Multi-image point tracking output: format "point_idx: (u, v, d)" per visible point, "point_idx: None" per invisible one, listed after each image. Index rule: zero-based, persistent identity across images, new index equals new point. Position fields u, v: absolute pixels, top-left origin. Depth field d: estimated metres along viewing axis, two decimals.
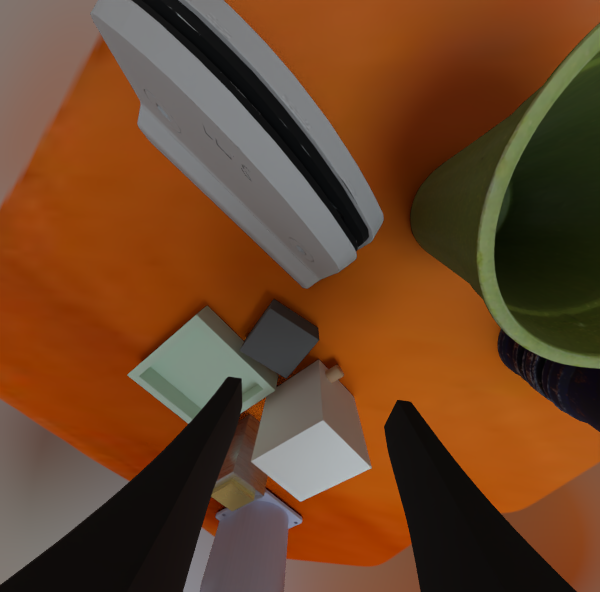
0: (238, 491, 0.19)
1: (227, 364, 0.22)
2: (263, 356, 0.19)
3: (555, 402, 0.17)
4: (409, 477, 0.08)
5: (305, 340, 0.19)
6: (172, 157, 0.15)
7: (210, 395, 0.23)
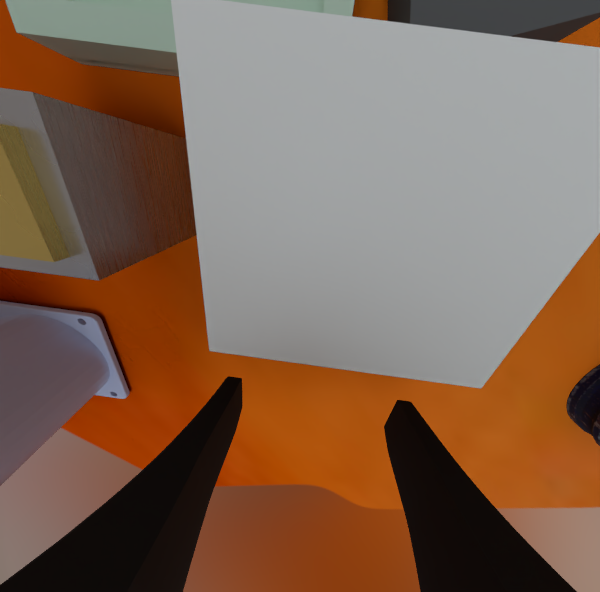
0: (8, 187, 0.05)
1: None
2: None
3: None
4: (408, 477, 0.08)
5: None
6: None
7: None
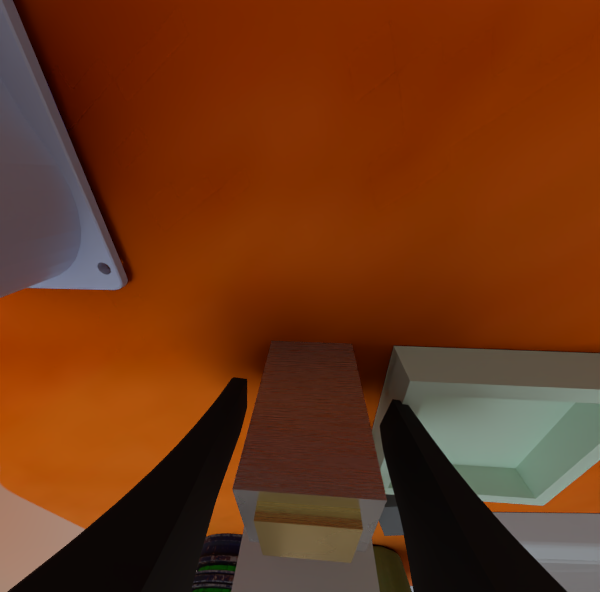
0: (315, 556, 0.07)
1: (447, 446, 0.13)
2: None
3: None
4: (402, 476, 0.08)
5: (396, 531, 0.16)
6: None
7: (441, 399, 0.11)
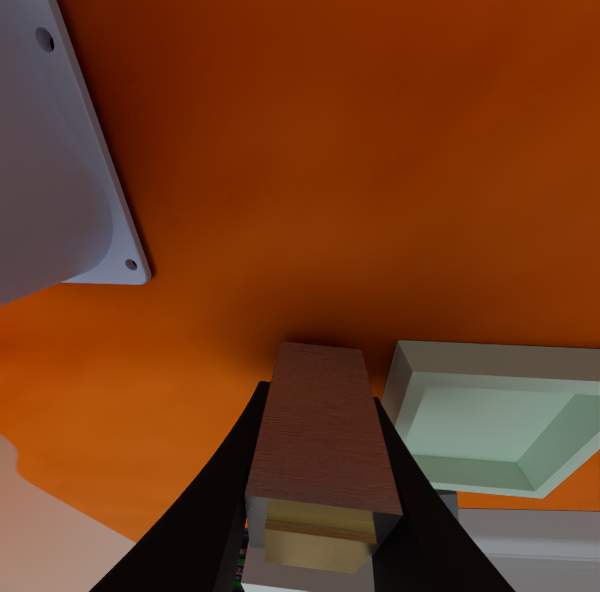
0: (319, 566, 0.07)
1: (449, 439, 0.14)
2: None
3: None
4: None
5: None
6: None
7: (442, 392, 0.12)
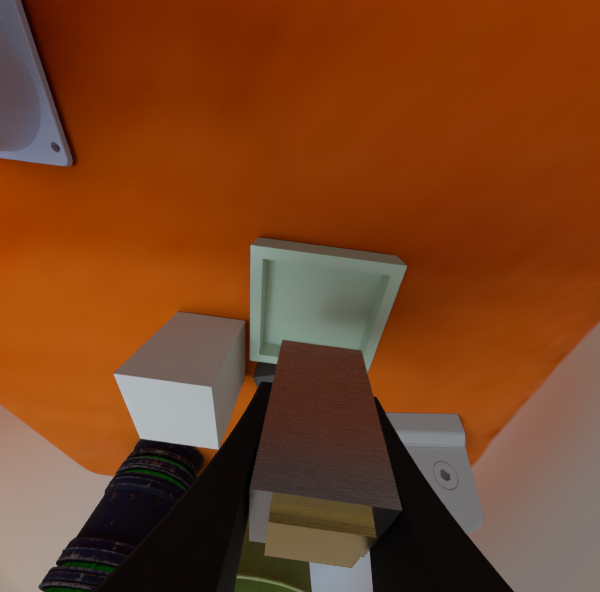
0: (317, 560, 0.07)
1: (306, 330, 0.19)
2: None
3: (136, 478, 0.25)
4: None
5: None
6: (436, 433, 0.22)
7: (292, 283, 0.17)
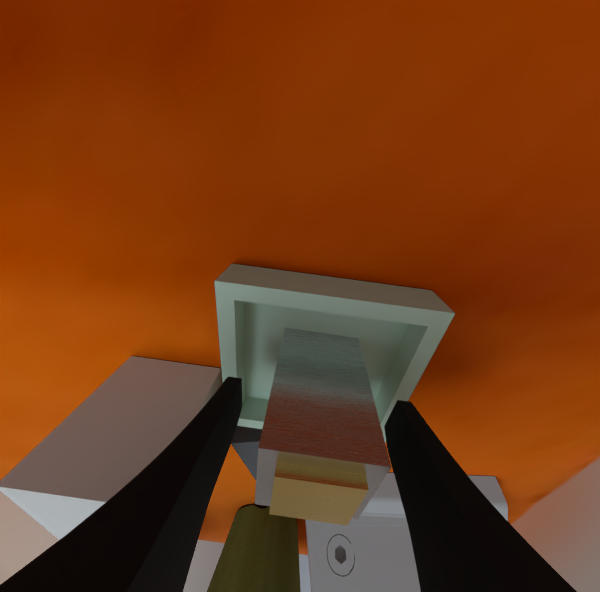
0: (316, 517, 0.08)
1: None
2: None
3: None
4: (408, 477, 0.08)
5: None
6: None
7: (281, 326, 0.12)
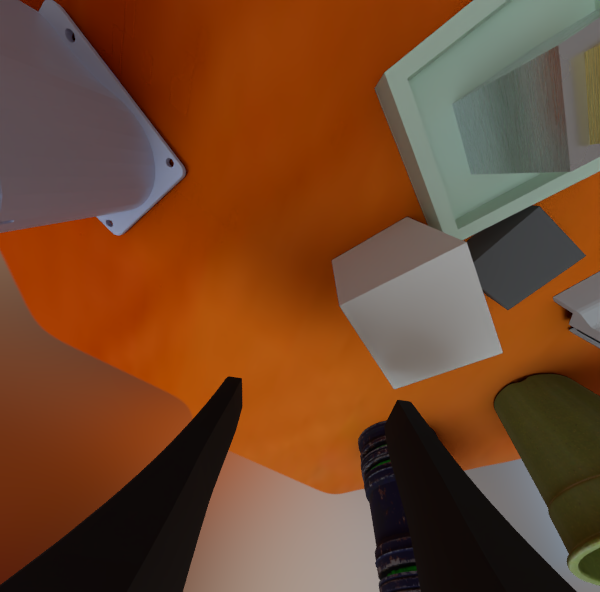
0: None
1: None
2: (512, 242, 0.14)
3: (390, 469, 0.22)
4: (409, 477, 0.08)
5: (514, 296, 0.15)
6: None
7: (448, 105, 0.12)
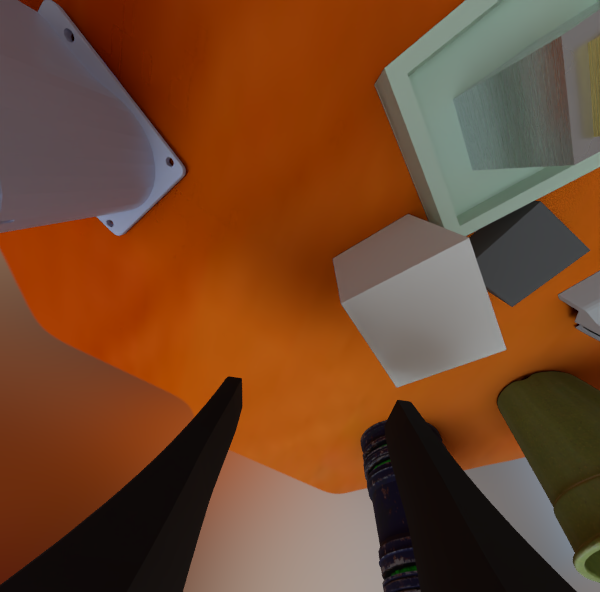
0: None
1: None
2: (514, 238, 0.14)
3: None
4: (409, 477, 0.08)
5: (518, 292, 0.15)
6: None
7: (449, 100, 0.12)
